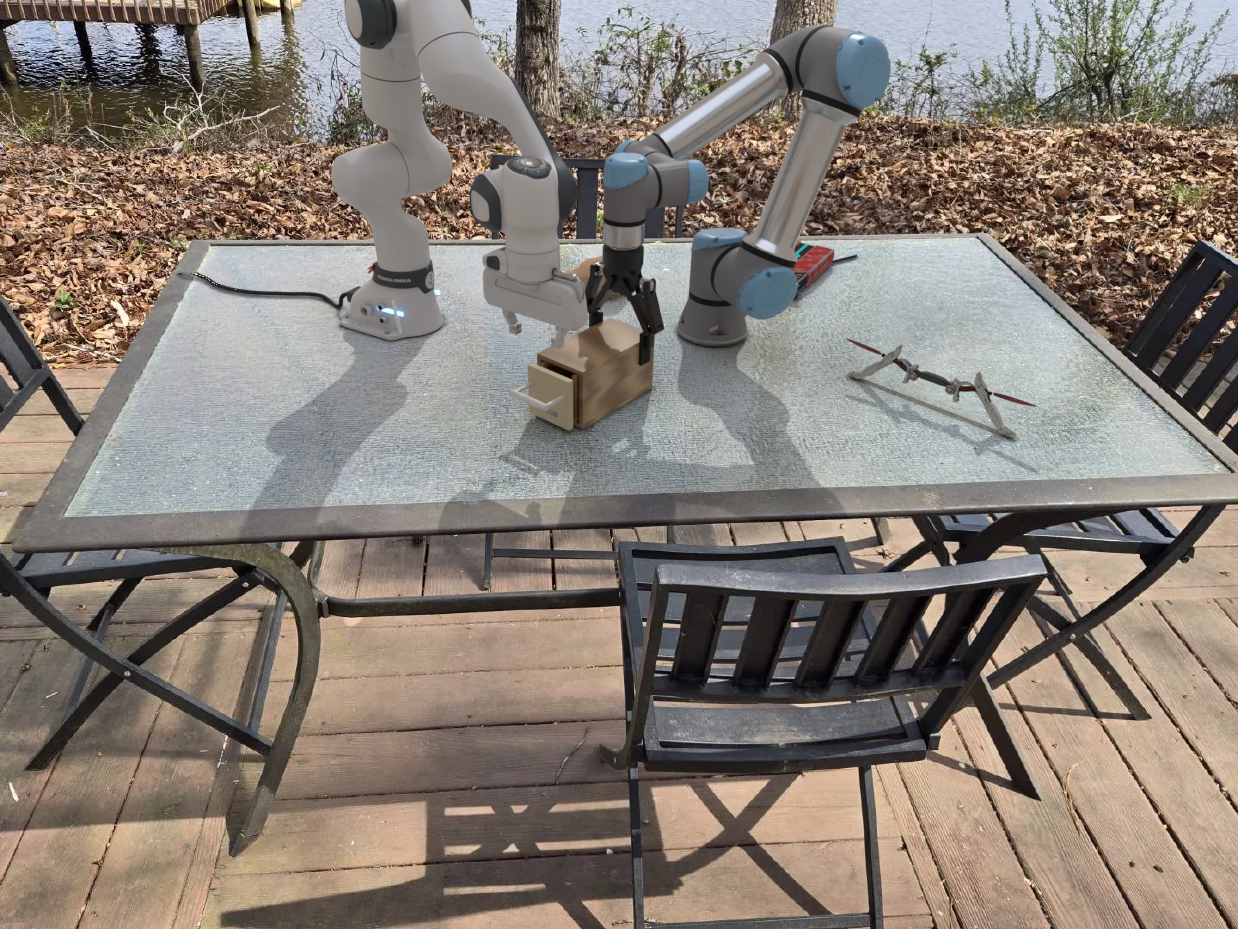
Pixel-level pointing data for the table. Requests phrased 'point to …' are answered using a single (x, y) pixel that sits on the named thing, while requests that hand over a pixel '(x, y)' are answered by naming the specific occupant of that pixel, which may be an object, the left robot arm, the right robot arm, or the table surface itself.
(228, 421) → the table surface
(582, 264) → the squash
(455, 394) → the table surface
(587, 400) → the cabinet
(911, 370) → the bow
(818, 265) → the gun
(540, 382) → the drawer
